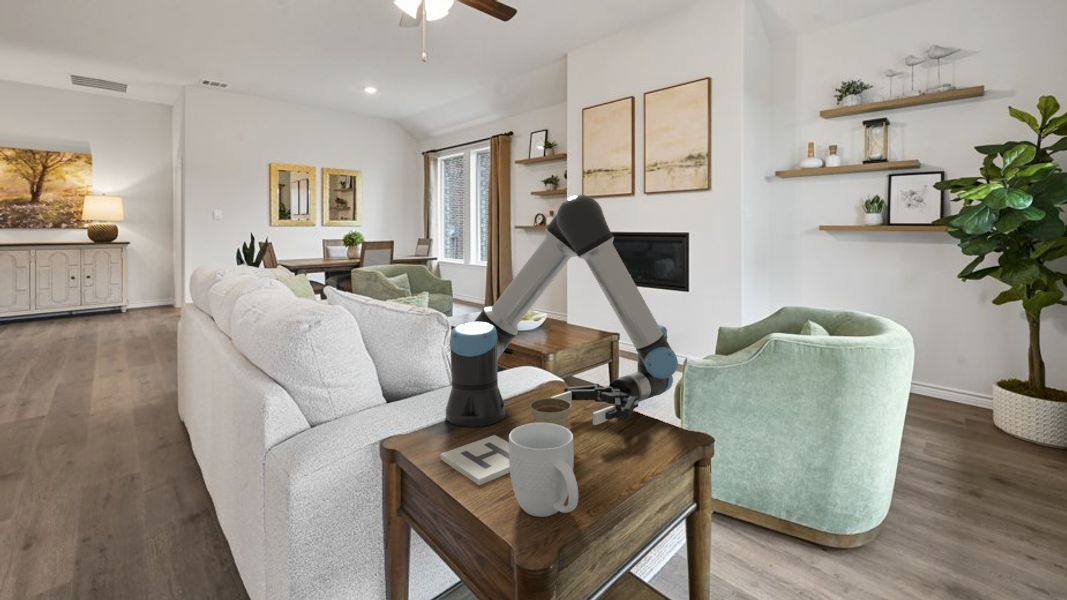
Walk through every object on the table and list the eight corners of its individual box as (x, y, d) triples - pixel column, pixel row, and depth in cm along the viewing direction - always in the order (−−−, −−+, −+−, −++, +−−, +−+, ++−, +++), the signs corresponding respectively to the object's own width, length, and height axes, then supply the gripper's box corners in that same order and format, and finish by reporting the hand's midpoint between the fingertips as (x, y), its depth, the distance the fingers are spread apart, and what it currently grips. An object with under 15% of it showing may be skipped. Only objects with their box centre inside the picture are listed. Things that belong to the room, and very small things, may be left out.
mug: (601, 522, 80) (602, 447, 78) (546, 547, 74) (546, 465, 72) (548, 483, 92) (548, 417, 90) (497, 501, 86) (496, 431, 84)
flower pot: (521, 444, 108) (521, 407, 107) (543, 429, 116) (543, 395, 115) (558, 454, 104) (558, 415, 102) (578, 438, 111) (578, 402, 110)
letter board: (440, 459, 102) (440, 453, 102) (494, 439, 111) (494, 434, 111) (478, 485, 91) (478, 479, 91) (535, 461, 100) (535, 456, 100)
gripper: (670, 417, 118) (613, 443, 104) (592, 392, 136) (536, 411, 122) (671, 387, 117) (614, 409, 103) (593, 366, 135) (536, 382, 121)
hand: (571, 410), depth 113 cm, fingers open, 13 cm apart
